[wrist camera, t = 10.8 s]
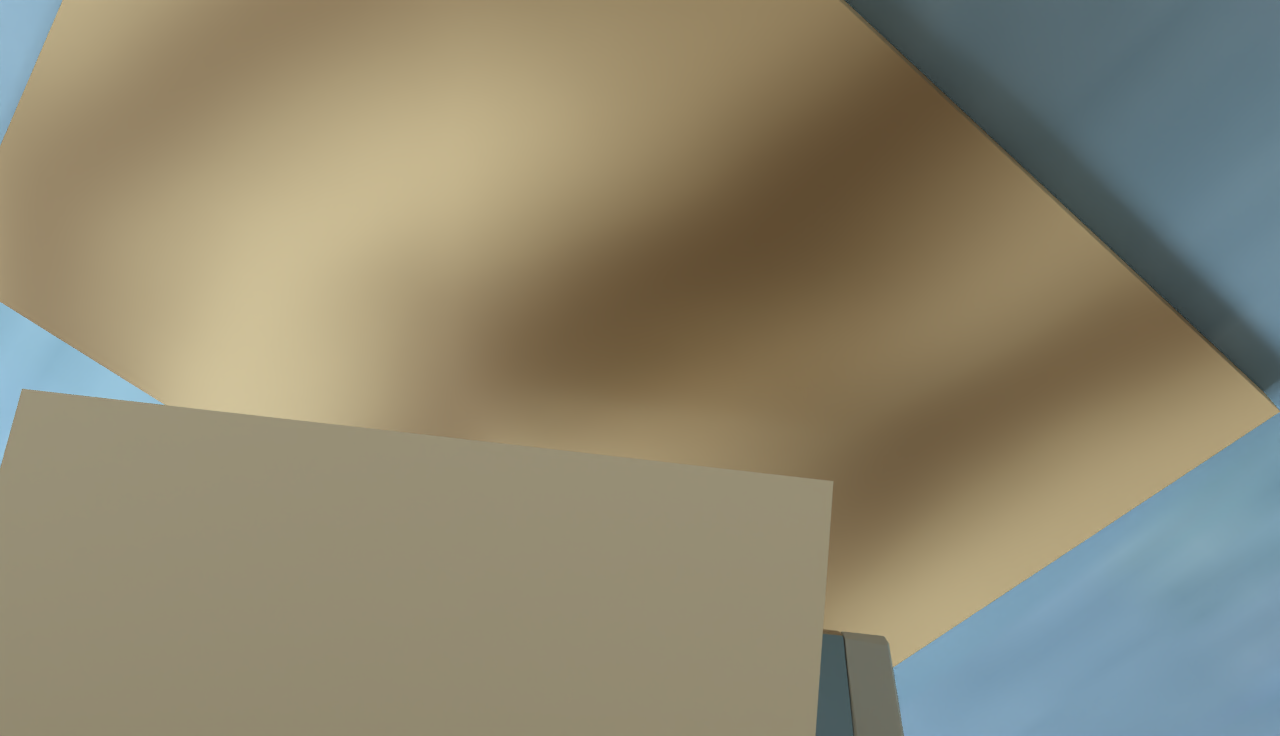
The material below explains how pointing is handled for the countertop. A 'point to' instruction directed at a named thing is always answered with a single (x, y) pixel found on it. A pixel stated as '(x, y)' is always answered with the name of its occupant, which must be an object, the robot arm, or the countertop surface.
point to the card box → (392, 583)
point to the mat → (613, 262)
